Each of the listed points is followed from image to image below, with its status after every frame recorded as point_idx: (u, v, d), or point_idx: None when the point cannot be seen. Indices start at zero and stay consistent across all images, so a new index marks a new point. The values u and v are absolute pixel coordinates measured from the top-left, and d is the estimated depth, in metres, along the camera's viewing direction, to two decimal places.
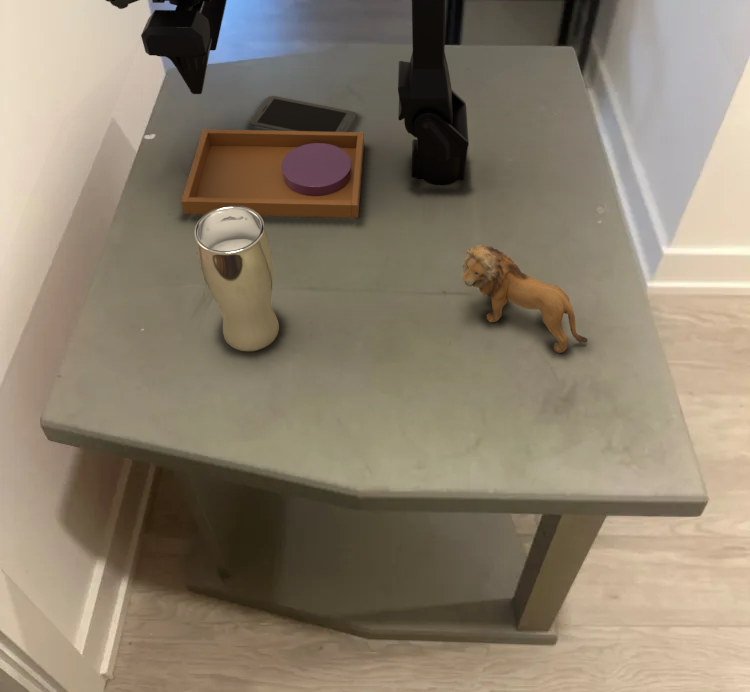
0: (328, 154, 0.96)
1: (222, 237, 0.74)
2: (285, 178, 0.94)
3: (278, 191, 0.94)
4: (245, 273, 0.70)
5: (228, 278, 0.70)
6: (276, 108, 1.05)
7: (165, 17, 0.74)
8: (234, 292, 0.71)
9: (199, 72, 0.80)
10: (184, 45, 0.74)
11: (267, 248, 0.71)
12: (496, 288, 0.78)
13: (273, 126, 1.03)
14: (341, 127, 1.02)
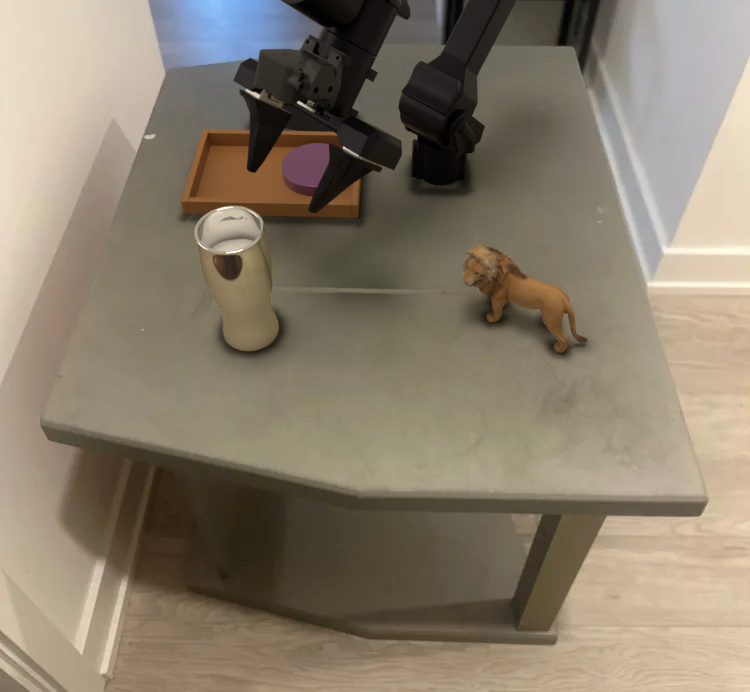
0: (328, 154, 0.96)
1: (222, 237, 0.74)
2: (285, 178, 0.94)
3: (278, 191, 0.94)
4: (245, 273, 0.70)
5: (228, 278, 0.70)
6: None
7: (371, 125, 0.68)
8: (234, 292, 0.71)
9: (340, 189, 0.72)
10: (393, 156, 0.70)
11: (267, 248, 0.71)
12: (496, 289, 0.78)
13: None
14: None
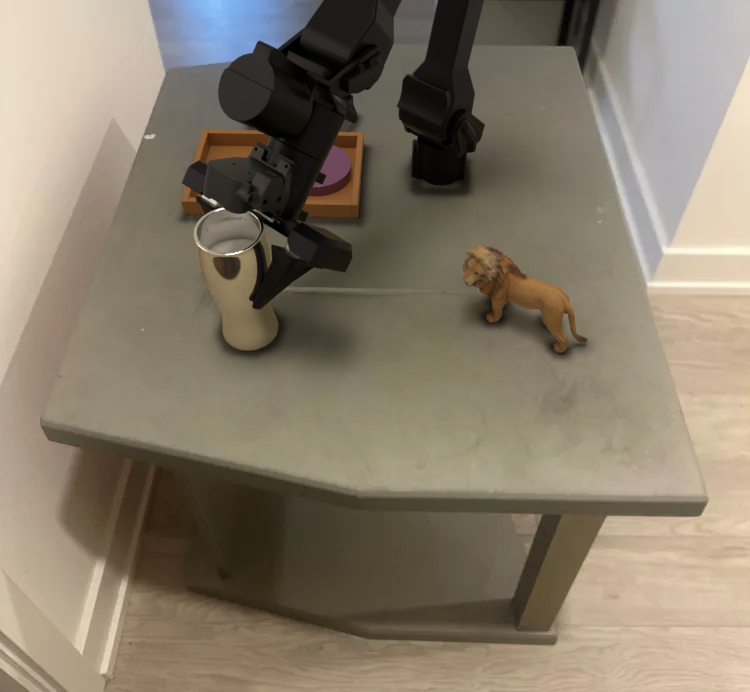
0: (328, 154, 0.96)
1: (221, 237, 0.74)
2: None
3: None
4: (244, 274, 0.69)
5: (227, 279, 0.70)
6: None
7: (321, 231, 0.69)
8: (234, 293, 0.71)
9: (283, 285, 0.73)
10: (343, 260, 0.70)
11: (266, 249, 0.71)
12: (496, 289, 0.78)
13: None
14: (341, 127, 1.02)
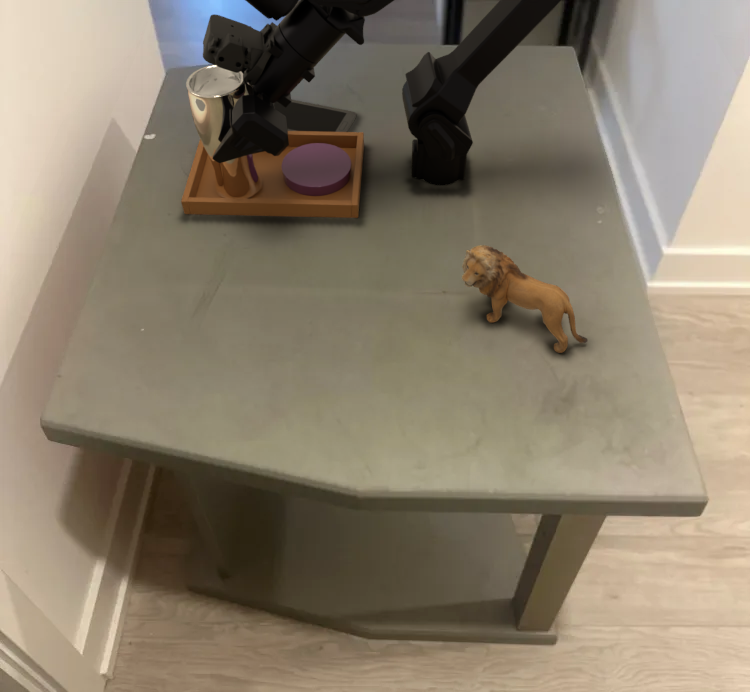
0: (328, 154, 0.96)
1: None
2: (285, 178, 0.94)
3: (278, 191, 0.94)
4: (207, 119, 0.83)
5: (197, 118, 0.84)
6: (276, 108, 1.05)
7: (265, 109, 0.79)
8: (202, 133, 0.85)
9: (240, 152, 0.84)
10: (272, 143, 0.79)
11: None
12: (496, 289, 0.78)
13: None
14: (341, 127, 1.02)
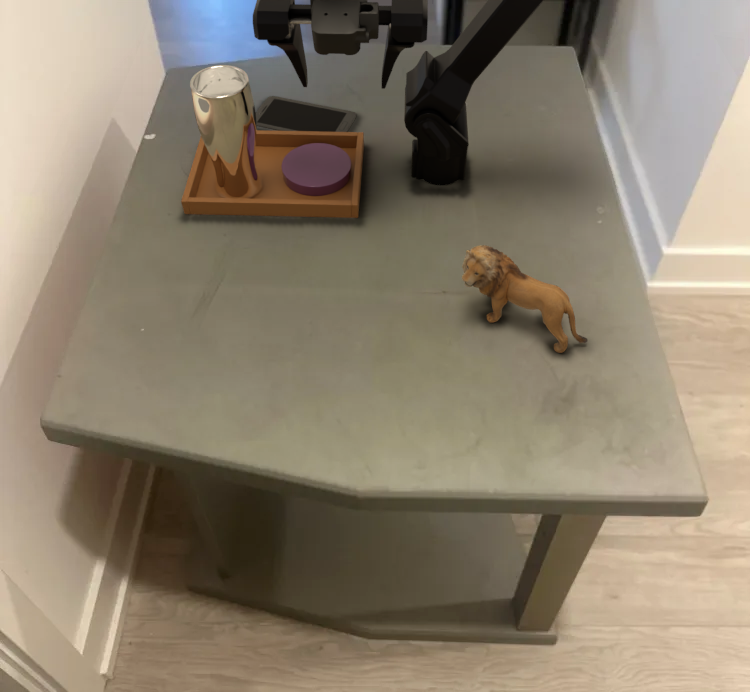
0: (328, 154, 0.96)
1: None
2: (285, 178, 0.94)
3: (278, 191, 0.94)
4: (211, 119, 0.83)
5: (200, 117, 0.84)
6: (276, 108, 1.05)
7: (405, 6, 0.79)
8: (204, 133, 0.85)
9: None
10: None
11: (239, 110, 0.83)
12: (496, 289, 0.78)
13: (273, 126, 1.03)
14: (341, 127, 1.02)
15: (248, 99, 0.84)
